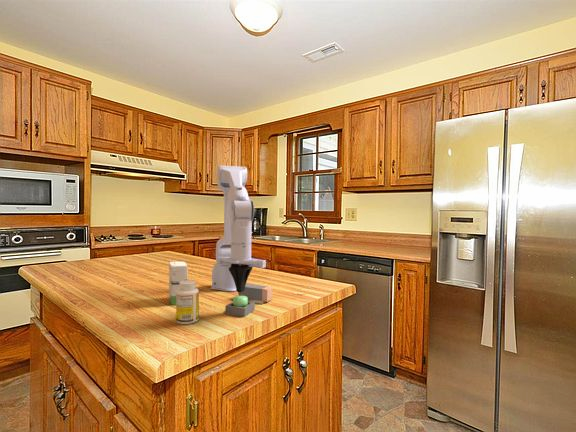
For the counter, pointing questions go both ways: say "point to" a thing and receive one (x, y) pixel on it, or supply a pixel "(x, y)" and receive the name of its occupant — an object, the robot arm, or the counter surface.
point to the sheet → (256, 301)
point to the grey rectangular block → (257, 292)
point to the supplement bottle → (187, 302)
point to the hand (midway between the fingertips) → (240, 291)
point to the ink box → (176, 278)
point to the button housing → (240, 309)
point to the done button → (240, 301)
